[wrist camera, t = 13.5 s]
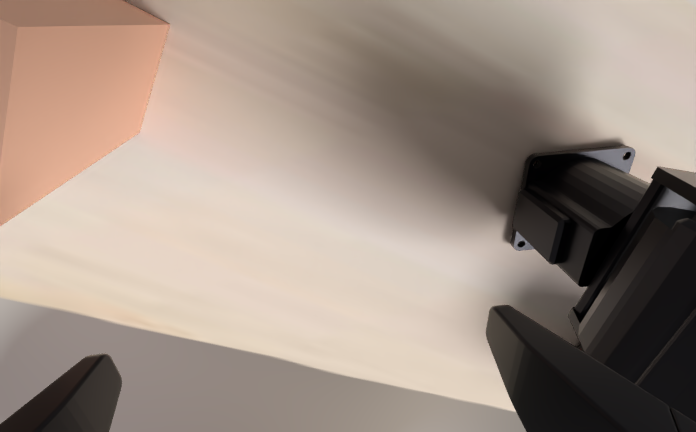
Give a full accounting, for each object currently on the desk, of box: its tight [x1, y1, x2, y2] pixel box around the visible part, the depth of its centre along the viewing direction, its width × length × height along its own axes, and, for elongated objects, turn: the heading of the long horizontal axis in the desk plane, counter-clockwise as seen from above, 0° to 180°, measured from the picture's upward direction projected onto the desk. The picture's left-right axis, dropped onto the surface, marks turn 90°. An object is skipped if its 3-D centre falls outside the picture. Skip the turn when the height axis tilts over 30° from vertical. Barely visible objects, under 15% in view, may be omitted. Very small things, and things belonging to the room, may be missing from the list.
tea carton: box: [0, 0, 170, 226], centre depth 12 cm, size 6×6×10 cm
